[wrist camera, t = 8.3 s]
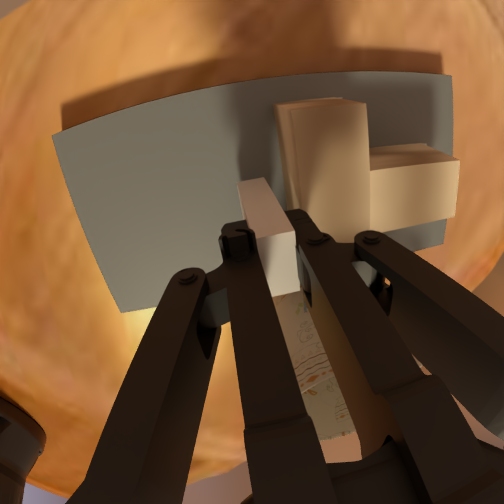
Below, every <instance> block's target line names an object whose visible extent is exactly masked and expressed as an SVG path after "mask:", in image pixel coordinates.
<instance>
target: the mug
mask: <svg viewBox="0 0 504 504" xmlns="http://www.w3.org/2000/svg"><path fill="white" fill-rule="evenodd" d="M299 282H300V281H299ZM272 299H273V302H274V305H275V308H276V312H277V315H278V318H279V322H280V325H281V328H282V331H283V335H284V338H285V341H286V345H287V348H288V351H289V354H290V358H291V361H292V364H293V368H294V371H295V374H296V378H297V381H298V384H299V388H300V391H301V394H302V398H303V401H304V404H305V408H306V411H307V413H308V415H309V416H311V418H312V420H313V423H314V426H315V429H316V432H317V436H318V439H319V441H322V440H328V439H334V438H338V437H341V436H345V435H348V434H351V433H353V432H356V429H355V426H354V424H353V421H352V419H351V416H350V413H349V411H348V408H347V406H346V403H345V400H344V398H343V395H342V393H341V390H340V388H339V385H338V382H337V380H336V377H335V375H334V372H333V370H332V367H331V365H330V362H329V360H328V357H327V355H326V352H325V350H324V347H323V345H322V342H321V340H320V337H319V335H318V333H317V330H316V328H315V325H314V323H313V320H312V318H311V315H310V313H309V311H308V308H307V312H305V313H304V301H303V288H302V285H301V283H300V291H297V292H292V293H288V294H283V295H278V296H274V297H272ZM412 356H413V355H412ZM413 357H414V356H413ZM414 359H415V360H416V362H417V364H418V365H419V367H420V368H421V367H422V366H423V365H422V364H421V363H420V362H419V361H418V360H417V359H416V358H415V357H414Z"/></svg>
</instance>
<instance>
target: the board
mask: <svg viewBox="0 0 504 504" xmlns="http://www.w3.org/2000/svg"><path fill="white" fill-rule="evenodd" d="M330 97H336V98H341V99H346V100H352V101H357V102H361V103H366V108H367V121H368V137H369V148H372V147H382V146H392V145H403V144H415V143H422V144H424V145H427V146H429V147H431V148H434V149H436V150H438V151H441V152H443V153H445V154H447V155H449V156H452V155H453V90H452V76H451V75H442V74H431V73H417V72H395V71H348V72H325V73H310V74H298V75H288V76H279V77H271V78H263V79H256V80H249V81H242V82H236V83H230V84H225V85H219V86H214V87H209V88H204V89H199V90H194V91H190V92H185V93H181V94H177V95H173V96H169V97H165V98H161V99H157V100H153V101H150V102H146V103H143V104H139V105H136V106H132V107H129V108H126V109H122V110H119V111H116V112H113V113H110V114H107V115H104V116H101V117H98V118H95V119H93V120H90V121H87V122H84V123H82V124H79V125H76V126H74V127H71V128H69V129H66V130H63V131H61V132H59V133H56V134H54V135H52V139H53V142H54V146H55V149H56V153H57V156H58V159H59V163H60V166H61V169H62V172H63V175H64V178H65V181H66V184H67V187H68V190H69V193H70V196H71V199H72V201H73V204H74V207H75V210H76V212H77V215H78V218H79V220H80V223H81V225H82V228H83V230H84V233H85V235H86V238H87V240H88V243H89V245H90V247H91V250H92V252H93V255H94V257H95V259H96V261H97V264H98V266H99V268H100V270H101V273H102V275H103V277H104V279H105V281H106V283H107V286H108V288H109V290H110V292H111V294H112V296H113V298H114V300H115V302H116V304H117V306H118V308H119V310H120V312H121V313H124V312H130V311H136V310H142V309H147V308H153V307H157V306H158V304H159V301H160V299H161V297H162V295H163V293H164V291H165V289H166V287H167V285H168V283H169V281H170V279H171V278H172V276H173V275H174V274H175V273H177V272H178V271H180V270H182V269H185V268H191V267H197V268H201V269H203V270H204V271H205V273H208V272H211V271H213V270H215V269H216V268H218V267H219V266H220V265H221V264H222V263H223V258H222V254H221V250H220V246H219V242H218V239H219V236H220V235H221V229H222V227H223V226H224V224H226V223H231V222H235V221H240V220H243V215H242V209H241V204H240V199H239V193H238V188H237V182H240V181H246V180H251V179H256V178H262V177H264V178H265V180H266V182H267V183H268V185H269V187H270V188H271V190H272V192H273V194H274V195H275V197H276V199H277V200H278V202H279V204H280V206H281V207H282V209H283V211H287V204H286V196H285V188H284V180H283V172H282V165H281V158H280V150H279V143H278V136H277V129H276V122H275V116H274V109H273V104H275V103H283V102H291V101H299V100H308V99H319V98H330ZM446 222H447V218H446V219H442V220H437V221H433V222H428V223H424V224H419V225H414V226H410V227H405V228H400V229H396V230H391V231H387V232H382V233H383V234H385V235H387V236H388V237H390V238H392V239H393V240H395V241H396V242H398V243H399V244H401V245H403V246H404V247H406V248H407V249H409V250H410V251H412V252H414V251H418V250H422V249H426V248H430V247H433V246H437V245H441V244H443V242H444V235H445V229H446Z"/></svg>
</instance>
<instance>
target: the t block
mask: <svg viewBox="0 0 504 504" xmlns="http://www.w3.org/2000/svg"><path fill="white" fill-rule="evenodd" d="M273 109H274V116H275V122H276V129H277V136H278V143H279V150H280V158H281V165H282V172H283V180H284V188H285V196H286V204H287V211H288V210H293V209H298V208H300V209H302V210H304V211H306V212H307V213H308V215H309V216H310V218H311V219H312V220H313V222H314V223H315V224H316V226H317V227H318V229H319V230H320V231H321V232H324V233H327V234H329V235H331V236H332V237H333V238H334V240H335V241H336V242H338V243H354V237H355V235H356V234H358V233H359V232H362V231H366V230H374V231H379V232H381V233H382V232H387V231H391V230H396V229H400V228H405V227H410V226H414V225H419V224H424V223H428V222H433V221H437V220H442V219H446V218H451V217H455V209H456V201H457V191H458V181H459V168H460V160H458V159H456V158H454V157H452V156H449V155H447V154H445V153H443V152H441V151H438V150H436V149H434V148H431V147H429V146H427V145H424V144H422V143H415V144H403V145H392V146H382V147H372V148H369V137H368V121H367V108H366V103H361V102H357V101H352V100H346V99H341V98H336V97H330V98H319V99H308V100H299V101H291V102H283V103H275V104H273Z"/></svg>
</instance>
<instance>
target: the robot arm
mask: <svg viewBox="0 0 504 504" xmlns="http://www.w3.org/2000/svg"><path fill="white" fill-rule="evenodd" d="M237 188H238V193H239V199H240V204H241V209H242V215H243V220H240V221H235V222H231V223H226V224H224V226H223V227H222V229H221V235H220V236H219V239H218V242H219V246H220V250H221V254H222V258H223V263H222V264H221V265H220V266H219V267H218V268H216V269H215V270H213V271H211V272H208V273H205V271H204V270H203V269H201V268H197V267H191V268H185V269H182V270H180V271H178V272H177V273H175V274H174V275H173V276H172V278H171V279H170V281H169V283H168V285H167V287H166V289H165V291H164V293H163V295H162V297H161V299H160V301H159V304H158V306H157V308H156V310H155V312H154V314H153V316H152V318H151V320H150V323H149V325H148V327H147V329H146V331H145V333H144V336H143V338H142V340H141V342H140V344H139V347H138V349H137V351H136V353H135V355H134V358H133V360H132V362H131V364H130V367H129V369H128V371H127V374H126V376H125V378H124V381H123V383H122V385H121V388H120V390H119V392H118V395H117V397H116V400H115V402H114V404H113V407H112V409H111V412H110V414H109V417H108V419H107V422H106V424H105V427H104V429H103V432H102V434H101V437H100V439H99V442H98V444H97V447H96V450H95V452H94V455H93V458H92V460H91V463H90V466H89V469H88V471H87V474H86V477H85V480H84V481H83V482H82V484H81V485H80V486H79V487H78V489H77V490H76V491H75V492H74V493H73V495H72V496H71V497H70V498H69V500H68V501H67V502H66V503H65V504H182V501H183V496H184V492H185V487H186V483H187V478H188V474H189V469H190V465H191V460H192V456H193V451H194V447H195V443H196V438H197V434H198V429H199V425H200V421H201V416H202V412H203V407H204V403H205V399H206V394H207V390H208V386H209V381H210V377H211V373H212V369H213V364H214V360H215V356H216V352H217V347H218V343H219V339H220V335H221V325H223V324H225V323H227V322H230V323H231V331H232V338H233V346H234V353H235V361H236V368H237V375H238V382H239V389H240V396H241V403H242V409H243V416H244V423H245V429H244V442H245V449H246V456H247V462H248V468H249V474H250V481H251V487H252V494H251V495H249V496H248V497H247V498H246V499H245V500H244V501H242V502H241V504H504V447H503V450H502V449H500V448H497V447H494V446H493V445H490V444H488V443H486V442H483V441H481V440H479V439H477V438H476V437H475V435H474V434H473V431H472V430H471V428H470V426H469V424H468V423H467V421H466V419H465V417H464V415H463V414H462V412H461V410H460V409H459V407H458V405H457V403H456V402H455V400H454V399H453V397H452V395H453V396H454V397H455V398H456V399H457V400H458V401H459V402H460V403H461V404H462V405H463V406H464V407H465V408H466V409H467V410H468V411H469V412H470V413H471V414H472V415H473V416H474V417H475V419H476V420H478V421H479V422H480V423H481V424H482V425H483V426H484V427H485V428H486V429H488V430H489V431H490V432H491V433H493V434H494V435H496V436H497V437H499V438H501V439H502V440H504V317H503V316H502V315H501V314H499V313H498V312H497V311H495V310H494V309H493V308H492V307H490V306H489V305H488V304H486V303H485V302H484V301H482V300H481V299H479V298H478V297H477V296H475V295H474V294H473V293H471V292H470V291H469V290H467V289H466V288H464V287H463V286H462V285H460V284H459V283H457V282H456V281H455V280H453V279H452V278H450V277H449V276H447V275H446V274H445V273H443V272H442V271H440V270H439V269H437V268H436V267H434V266H433V265H431V264H430V263H428V262H427V261H425V260H424V259H422V258H421V257H419V256H418V255H416V254H415V253H413V252H412V251H410V250H409V249H407V248H406V247H404V246H403V245H401V244H399V243H398V242H396V241H395V240H393V239H392V238H390V237H388V236H387V235H385V234H383V233H381V232H379V231H374V230H366V231H362V232H359V233H358V234H356V235H355V237H354V243H338V242H336V241H335V240H334V238H333V237H332V236H331V235H329V234H327V233H324V232H321V231H320V230H319V229H318V227H317V226H316V224H315V223H314V222H313V220H312V219H311V218H310V216H309V215H308V213H307V212H306V211H304V210H302V209H300V208H298V209H293V210H288V211H283V209H282V207H281V206H280V204H279V202H278V200H277V199H276V197H275V195H274V194H273V192H272V190H271V188H270V187H269V185H268V183H267V182H266V180H265V178H264V177H262V178H256V179H251V180H246V181H240V182H237ZM385 277H386V278H387V279H388V280H389V281H390V286H389V285H387V284H386V283H385ZM299 281H300V282H299ZM300 283H301V285H302V288H303V301H304V313H305V312H307V308H308V311H309V313H310V315H311V318H312V320H313V323H314V325H315V328H316V330H317V333H318V335H319V337H320V340H321V342H322V345H323V347H324V350H325V352H326V355H327V357H328V360H329V362H330V365H331V367H332V370H333V372H334V375H335V377H336V380H337V382H338V385H339V388H340V390H341V393H342V395H343V398H344V400H345V403H346V406H347V408H348V411H349V413H350V416H351V419H352V421H353V424H354V426H355V429H356V432H357V434H358V437H359V440H360V445H361V455H362V460H359V461H355V462H342V463H326V462H325V459H324V456H323V452H322V449H321V445H320V442H319V439H318V436H317V432H316V429H315V426H314V423H313V420H312V418H311V416H309V415H308V413H307V411H306V408H305V404H304V401H303V398H302V394H301V391H300V388H299V384H298V381H297V378H296V374H295V371H294V368H293V364H292V361H291V358H290V354H289V351H288V348H287V345H286V341H285V338H284V335H283V331H282V328H281V325H280V322H279V318H278V315H277V312H276V308H275V305H274V302H273V299H272V297H274V296H278V295H283V294H288V293H292V292H297V291H300ZM412 355H413V356H414V357H415V358H416V359H417V360H418V361H419V362H420V363H421V364H422V365H423V366H424V367H425V368H426V369H427V370H428V371H429V372H430V373H431V374H432V375H425V374H424V373H423V372H422V371H421V369H420V367H419V365H418V364H417V362H416V360H415V359H414V357H413V356H412ZM451 394H452V395H451ZM45 443H46V435H45V433H44V431H43V430H42V429H41V427H40V426H39V425H38V424H37V423H36V422H35V421H33V420H32V419H31V418H30V417H29V416H27V415H26V414H25V413H23V412H22V411H21V410H19V409H18V408H16V407H15V406H13V405H12V404H10V403H8V402H7V401H5V400H3V399H2V398H0V504H22V500H23V493H24V487H25V482H26V478H27V475H28V474H29V472H30V471H31V469H32V468H33V466H34V464H35V463H36V461H37V459H38V456H40V455H41V454H42V453H43V451H44V447H45Z"/></svg>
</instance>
